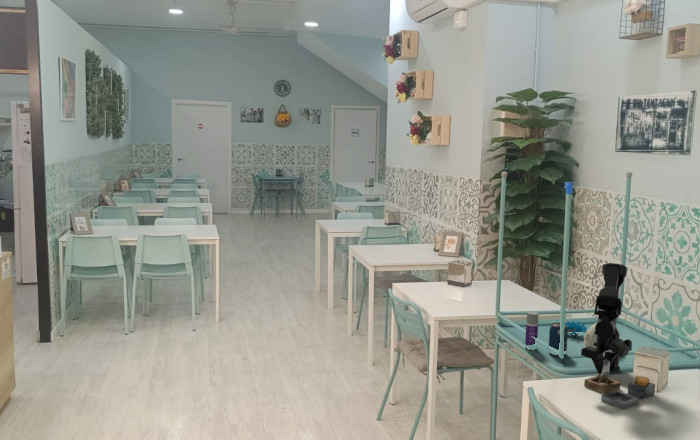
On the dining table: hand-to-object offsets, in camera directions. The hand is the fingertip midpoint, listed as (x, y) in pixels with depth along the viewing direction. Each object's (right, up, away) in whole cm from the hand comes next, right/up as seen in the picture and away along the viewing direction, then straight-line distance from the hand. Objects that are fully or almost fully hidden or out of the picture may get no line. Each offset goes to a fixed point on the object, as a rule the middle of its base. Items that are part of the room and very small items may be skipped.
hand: (603, 372), depth 233 cm
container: (-14, 0, +40) cm, 43 cm away
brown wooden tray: (0, -5, +1) cm, 5 cm away
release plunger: (+11, -4, -5) cm, 13 cm away
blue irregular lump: (+9, +3, +58) cm, 58 cm away
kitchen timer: (+15, 0, +41) cm, 43 cm away
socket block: (+6, -7, -9) cm, 12 cm away
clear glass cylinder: (0, -3, 0) cm, 3 cm away
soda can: (-5, -1, +34) cm, 35 cm away
